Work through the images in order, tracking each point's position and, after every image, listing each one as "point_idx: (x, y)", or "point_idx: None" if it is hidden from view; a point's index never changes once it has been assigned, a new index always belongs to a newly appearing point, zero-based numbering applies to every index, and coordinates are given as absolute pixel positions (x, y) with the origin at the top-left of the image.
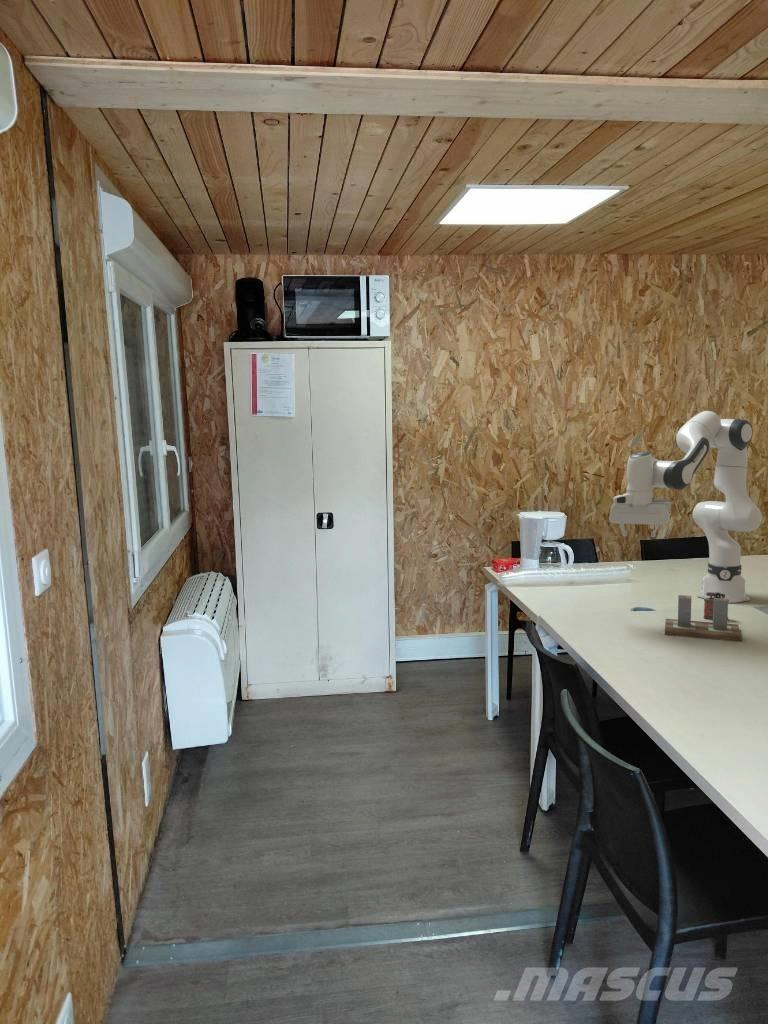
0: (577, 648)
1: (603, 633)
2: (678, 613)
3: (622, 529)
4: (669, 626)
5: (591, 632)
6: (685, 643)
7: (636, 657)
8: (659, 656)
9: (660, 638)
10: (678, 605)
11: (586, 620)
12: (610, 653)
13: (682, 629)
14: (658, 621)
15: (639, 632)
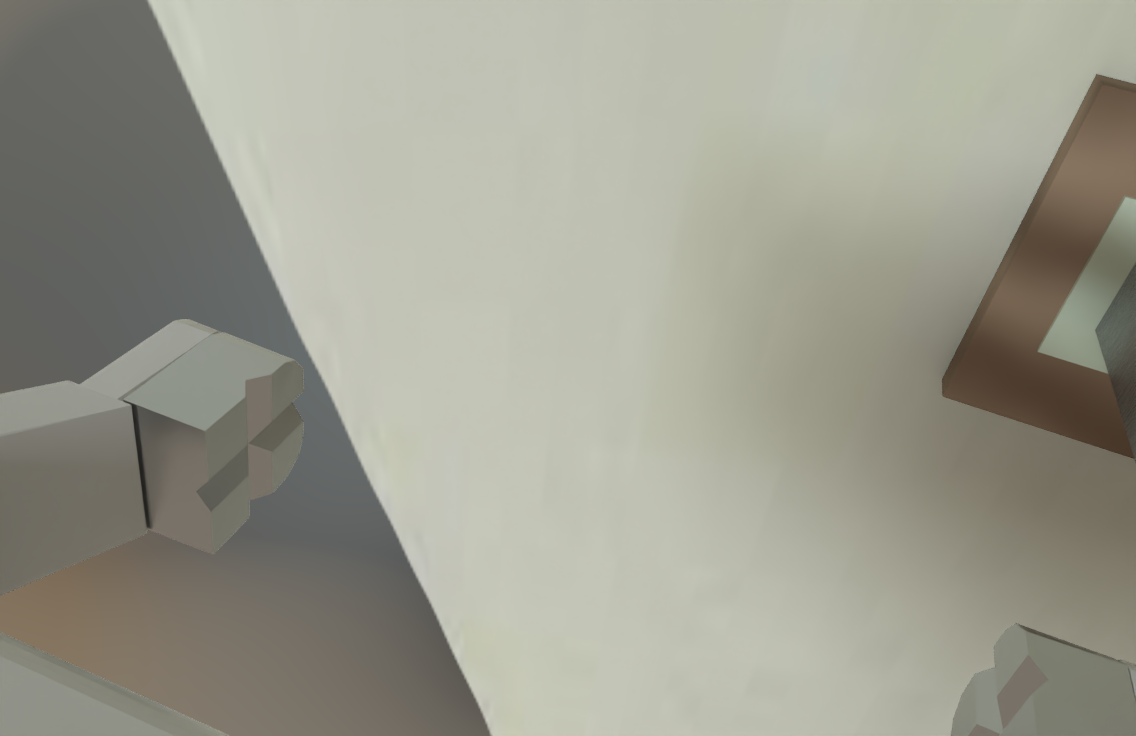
0: (400, 537)
1: (531, 336)
2: (1116, 389)
3: (50, 550)
4: (1023, 314)
5: (461, 315)
6: (1011, 542)
7: (657, 667)
8: (772, 676)
9: (878, 447)
10: (1127, 434)
11: (425, 40)
12: (545, 610)
13: (1099, 391)
14: (1040, 34)
15: (769, 327)
